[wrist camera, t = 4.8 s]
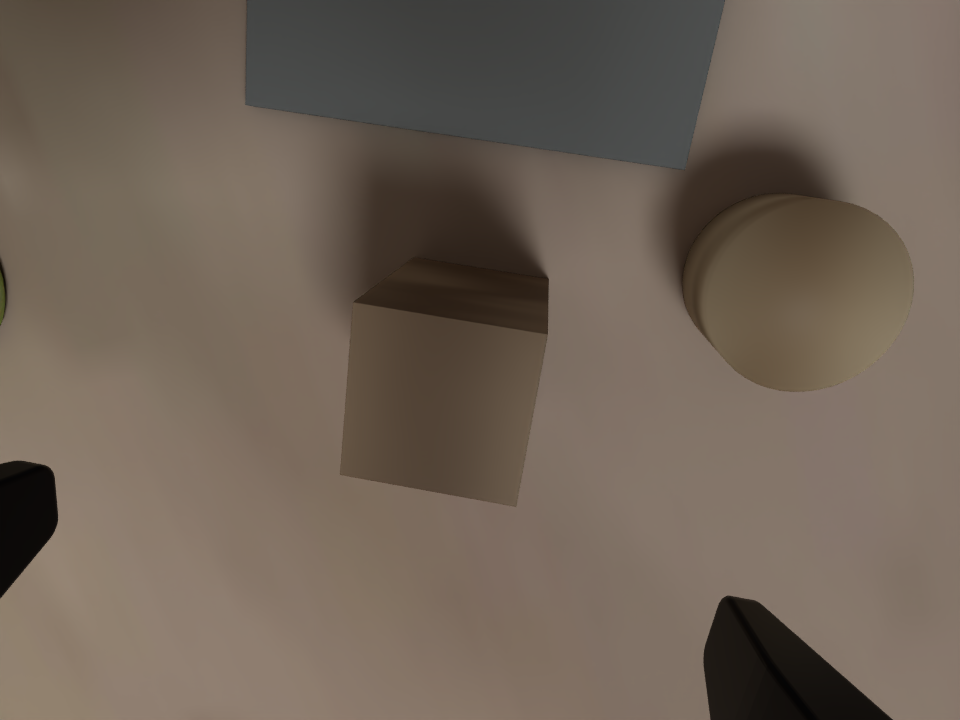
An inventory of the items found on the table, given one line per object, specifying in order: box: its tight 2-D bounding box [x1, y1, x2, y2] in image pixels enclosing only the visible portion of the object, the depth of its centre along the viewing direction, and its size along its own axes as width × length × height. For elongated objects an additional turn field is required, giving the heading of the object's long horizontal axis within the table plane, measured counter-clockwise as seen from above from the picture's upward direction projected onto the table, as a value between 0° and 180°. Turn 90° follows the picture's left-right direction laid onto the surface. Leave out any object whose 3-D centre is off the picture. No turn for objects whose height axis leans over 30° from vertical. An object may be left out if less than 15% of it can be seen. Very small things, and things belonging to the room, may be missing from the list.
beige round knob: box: [682, 193, 914, 392], centre depth 16 cm, size 5×5×3 cm
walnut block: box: [340, 257, 549, 507], centre depth 16 cm, size 4×4×6 cm
